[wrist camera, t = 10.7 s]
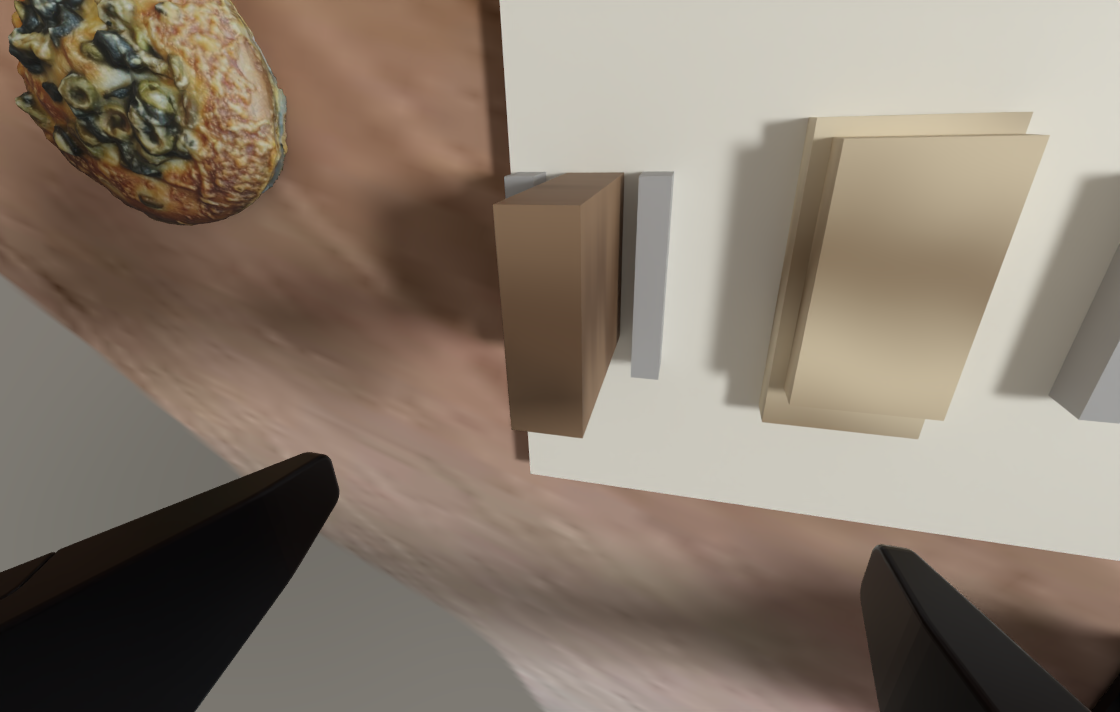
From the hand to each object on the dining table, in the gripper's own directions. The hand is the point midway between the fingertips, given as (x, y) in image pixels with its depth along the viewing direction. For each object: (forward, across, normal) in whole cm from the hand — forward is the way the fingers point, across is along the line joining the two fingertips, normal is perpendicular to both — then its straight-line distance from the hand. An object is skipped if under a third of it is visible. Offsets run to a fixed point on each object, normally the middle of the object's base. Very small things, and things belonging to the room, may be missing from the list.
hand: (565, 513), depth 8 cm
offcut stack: (+12, -7, -1) cm, 14 cm away
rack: (+13, -7, -1) cm, 15 cm away
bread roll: (+13, +20, -8) cm, 25 cm away
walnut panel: (+12, +2, -1) cm, 12 cm away
